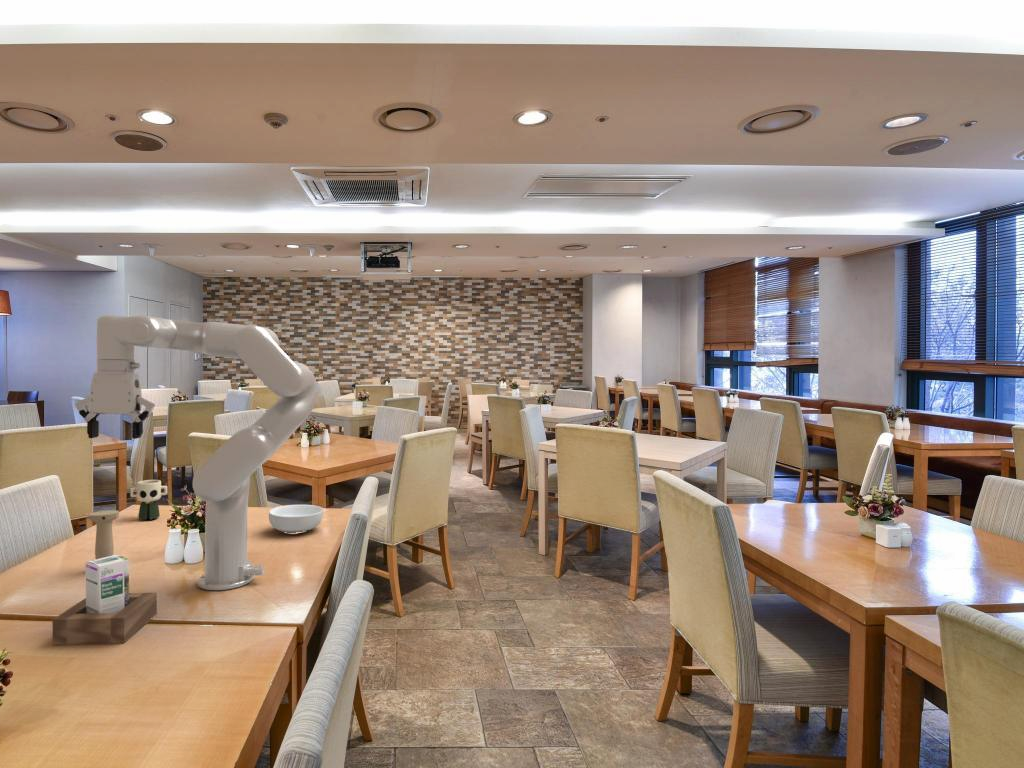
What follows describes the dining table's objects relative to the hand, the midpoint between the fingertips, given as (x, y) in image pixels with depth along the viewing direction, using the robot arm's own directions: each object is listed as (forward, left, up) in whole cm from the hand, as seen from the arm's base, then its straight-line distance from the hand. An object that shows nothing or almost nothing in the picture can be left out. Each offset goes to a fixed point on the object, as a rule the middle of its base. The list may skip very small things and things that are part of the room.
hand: (115, 437), depth 144 cm
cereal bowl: (-32, -46, -36) cm, 67 cm away
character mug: (+21, -62, -36) cm, 75 cm away
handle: (+8, -11, -36) cm, 39 cm away
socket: (-12, +25, -36) cm, 45 cm away
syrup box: (-12, +25, -36) cm, 45 cm away
